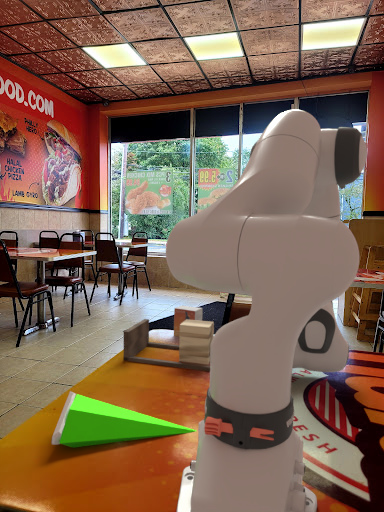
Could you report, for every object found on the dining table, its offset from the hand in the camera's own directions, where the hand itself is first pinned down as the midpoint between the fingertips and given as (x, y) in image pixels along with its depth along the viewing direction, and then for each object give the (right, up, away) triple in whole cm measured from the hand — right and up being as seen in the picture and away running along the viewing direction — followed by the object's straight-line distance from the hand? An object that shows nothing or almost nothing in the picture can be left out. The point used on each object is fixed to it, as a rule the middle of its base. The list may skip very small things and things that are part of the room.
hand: (226, 343), depth 95 cm
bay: (-14, -6, +4) cm, 16 cm away
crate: (-8, -5, +3) cm, 10 cm away
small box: (-11, -5, +24) cm, 27 cm away
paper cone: (-22, -9, -30) cm, 38 cm away
